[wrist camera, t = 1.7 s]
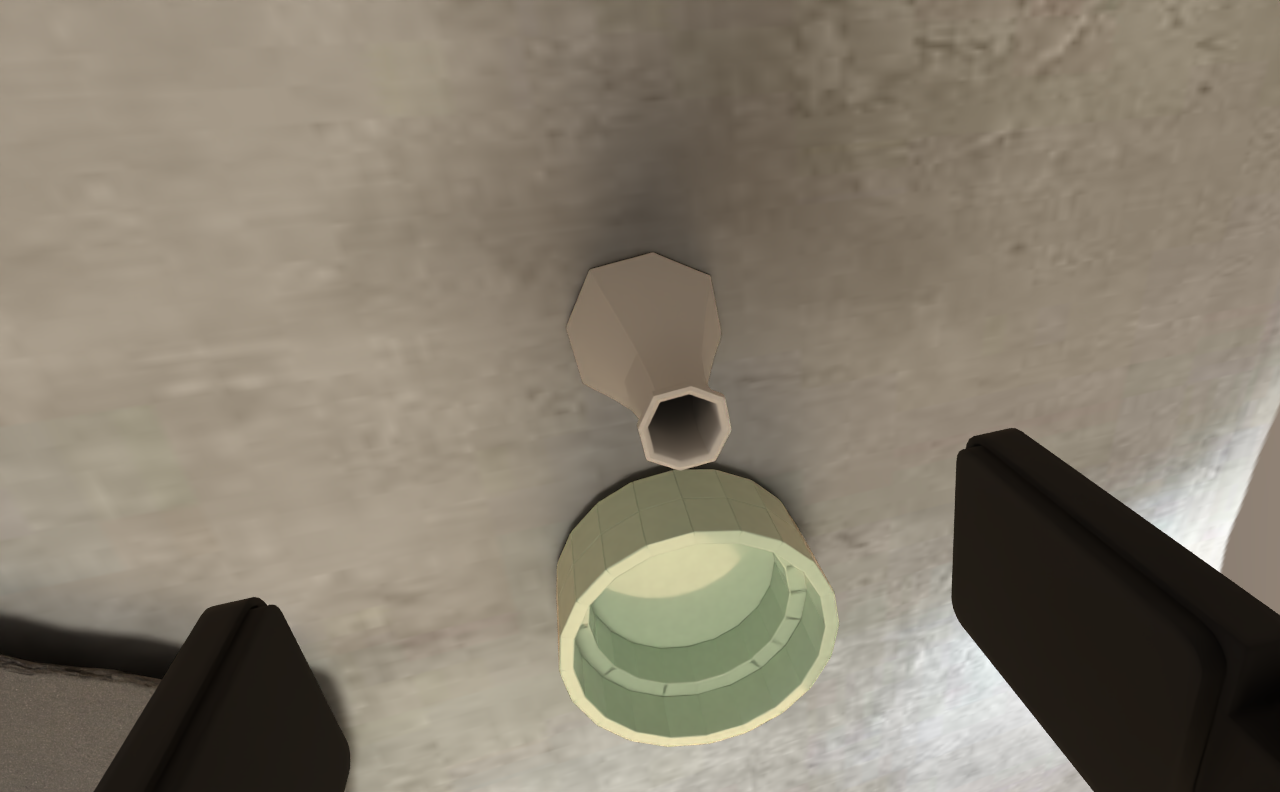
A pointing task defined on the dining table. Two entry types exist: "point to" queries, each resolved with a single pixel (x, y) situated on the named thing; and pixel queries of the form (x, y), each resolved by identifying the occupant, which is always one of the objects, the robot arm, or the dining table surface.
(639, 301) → the flask
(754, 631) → the basin
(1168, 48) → the dining table surface
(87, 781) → the serving tray
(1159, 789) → the robot arm
